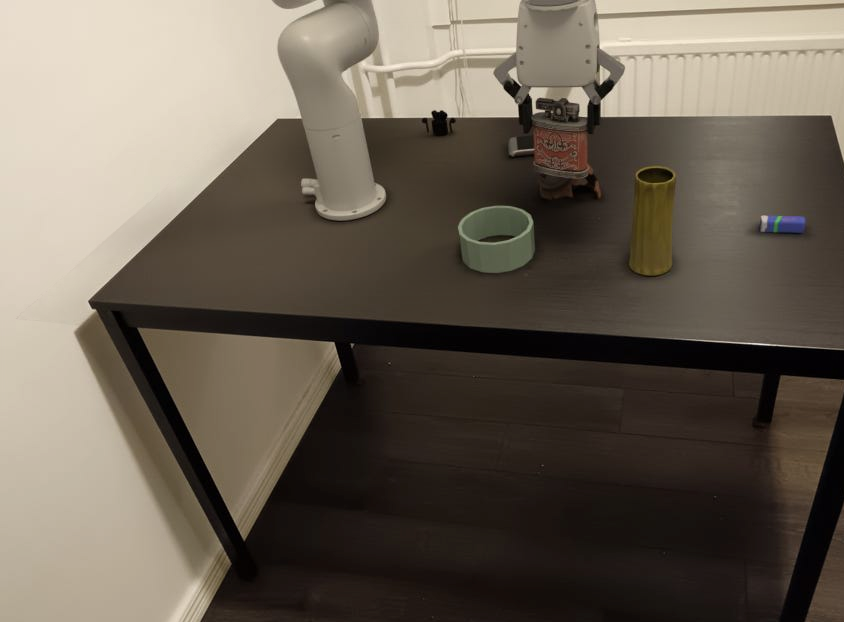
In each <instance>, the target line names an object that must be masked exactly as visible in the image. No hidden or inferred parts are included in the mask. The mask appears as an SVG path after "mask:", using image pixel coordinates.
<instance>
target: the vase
mask: <svg viewBox="0 0 844 622" xmlns="http://www.w3.org/2000/svg"><path fill="white" fill-rule="evenodd" d="M634 177H635V178H634V196H633V197H634V200H633V201H634V202H633V212H632V213H633V214H632V226H631V237H630V248H629V251H630V252H629V260H628V266H629V269H630V270H632V272H634V273H636V274H638V275H640V276H646V277H655V276H656V277H657V276H660V275H663V274H665V273H667V272H669V271H670V270H671V268H672V266H673V218H674V206H675V196H676V195H675V193H676V183H677V175H676V173H675V171H674V170H673V169H671V168H670V167H667V166H661V165H650V166H646V167H643V168H640V169H638V170H637V171H636V173H635V176H634Z"/></svg>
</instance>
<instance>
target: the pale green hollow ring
mask: <svg viewBox="0 0 844 622" xmlns="http://www.w3.org/2000/svg"><path fill="white" fill-rule="evenodd" d="M534 226H535V225H534V220H533V218H532V215H531V214H530V213H528V212H527V211H526V210H524V209H522V208H519V207H515V206H511V205H492V206H485V207H480V208H479V209H476V210H474V211H471V212H469V213H468V214H466V215H465V216H463V218H461V220H460V221H459V224H458V225H457V233H458V238H459V248H460V255H461V259H462V263H463V264H464V265H466V266H467V267H468V268H469V269H471V270H474V271H477V272H480V273H484V274H502V273H506V272H513V271H514V270H517V269H519V268H522V267H524V266H525V265H526V264H528V263H529V262H530V261H531V260H533V258H534V254H535V251H536V243H535V242H536V241H535V229H534V228H535V227H534ZM496 236H509V237H510V236H511V237H512V238H509V239H507V240H501V241H496V242H495V241H494V242H489V241H481V240H484V239H486V238H490V237H496Z"/></svg>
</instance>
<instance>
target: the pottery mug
mask: <svg viewBox="0 0 844 622" xmlns="http://www.w3.org/2000/svg"><path fill="white" fill-rule="evenodd" d="M587 165H588V167H589V174H588V175H587V176H586V177H584V178H566V177H564V178H563V179H562V180H560V181H559V182H557V183H555V184H547V183H545V180H546V178H547V176H548V174H544V173H541V172H539V173H538V175H539V176H540V178H539V179H538V181H537V184H538V185H539V194H540V197H541V198H542V199H544V200H547V201H548V200H549V201H554V200H559V199H562V198H565V197H568V198H574V196H573V187H572V185H573V186H575V187H577V186H584V187H593V189H594V193H595V195H596V198H597V199H598V200H599V199H601V197H602V192H601V188H600V184H599V182H600V181H599V180H598V177H597V175H596V172H595V170H594V169H593V168H592V166H590V164H589V163H587Z"/></svg>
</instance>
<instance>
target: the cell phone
mask: <svg viewBox="0 0 844 622" xmlns="http://www.w3.org/2000/svg"><path fill="white" fill-rule="evenodd" d="M507 147H508V155H509V156H511V157H512V158H515V157H523V156H524V157H525V156H535V153H534V134H533V135H522V136H513V137H510V138H509V139H508V143H507Z"/></svg>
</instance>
